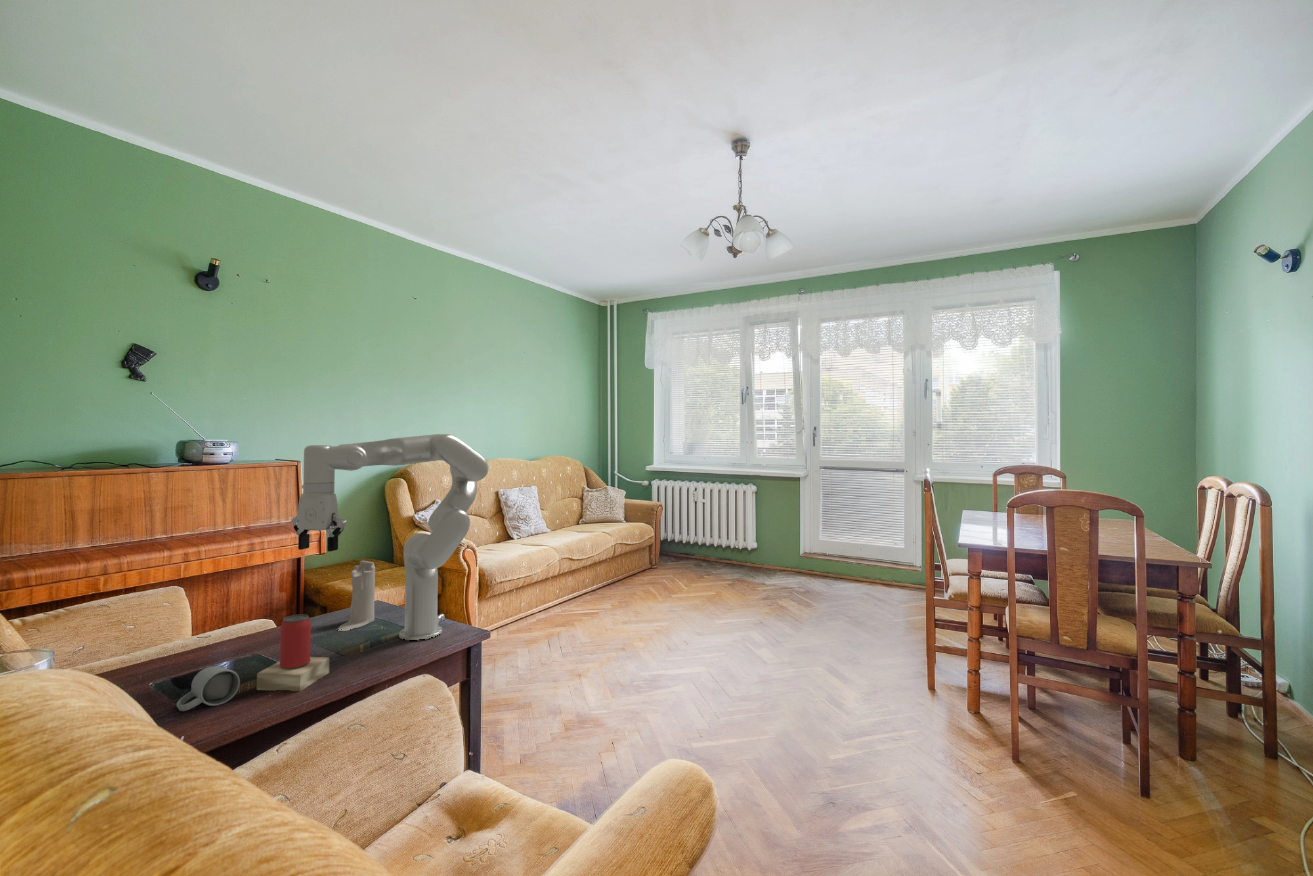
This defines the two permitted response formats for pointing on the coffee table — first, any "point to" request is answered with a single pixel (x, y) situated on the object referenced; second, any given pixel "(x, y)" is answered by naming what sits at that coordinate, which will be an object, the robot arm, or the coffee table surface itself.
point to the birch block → (292, 675)
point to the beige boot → (361, 596)
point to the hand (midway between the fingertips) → (318, 549)
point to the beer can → (295, 641)
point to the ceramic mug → (211, 688)
